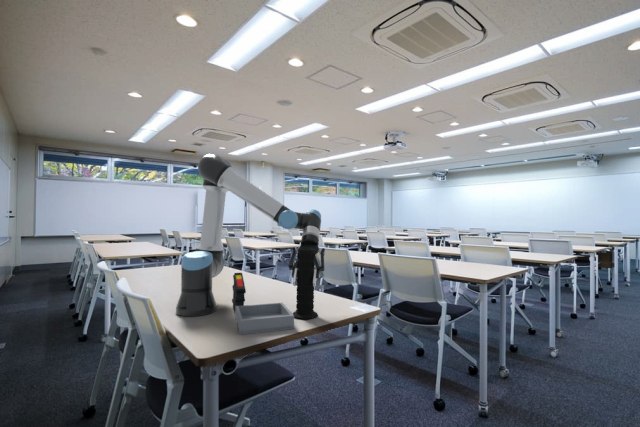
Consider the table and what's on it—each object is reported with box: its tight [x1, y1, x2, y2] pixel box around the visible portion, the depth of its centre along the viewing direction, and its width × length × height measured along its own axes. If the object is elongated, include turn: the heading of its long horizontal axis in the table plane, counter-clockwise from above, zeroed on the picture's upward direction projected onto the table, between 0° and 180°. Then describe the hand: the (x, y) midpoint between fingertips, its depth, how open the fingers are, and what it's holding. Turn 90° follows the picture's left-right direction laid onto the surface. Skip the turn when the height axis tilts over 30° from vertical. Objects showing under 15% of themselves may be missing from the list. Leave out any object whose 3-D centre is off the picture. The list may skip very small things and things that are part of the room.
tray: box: [234, 302, 295, 335], centre depth 114 cm, size 18×18×4 cm
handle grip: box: [292, 247, 319, 320], centre depth 124 cm, size 10×26×10 cm
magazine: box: [231, 272, 247, 312], centre depth 130 cm, size 4×13×15 cm, turn 21°
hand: (304, 284), depth 121 cm, fingers closed on handle grip, 7 cm apart
